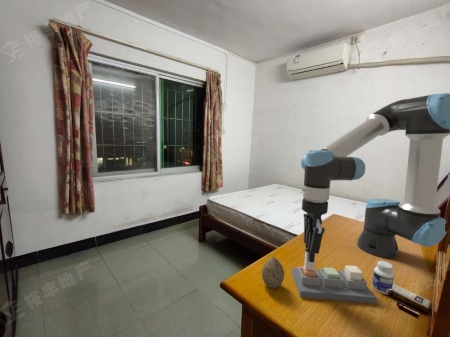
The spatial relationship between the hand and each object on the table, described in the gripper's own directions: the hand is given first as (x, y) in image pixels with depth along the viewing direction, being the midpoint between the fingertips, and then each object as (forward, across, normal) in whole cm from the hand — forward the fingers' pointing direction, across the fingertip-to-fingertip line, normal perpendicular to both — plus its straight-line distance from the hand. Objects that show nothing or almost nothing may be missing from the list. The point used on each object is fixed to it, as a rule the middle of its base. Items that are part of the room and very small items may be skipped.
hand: (309, 268), depth 70 cm
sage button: (+3, 0, +7) cm, 8 cm away
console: (+6, 0, +7) cm, 9 cm away
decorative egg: (+6, +2, -12) cm, 14 cm away
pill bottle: (+6, -1, +24) cm, 25 cm away
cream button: (+2, 0, +14) cm, 14 cm away
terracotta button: (+3, 0, 0) cm, 3 cm away
